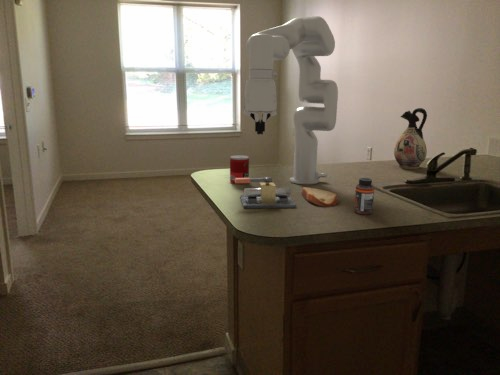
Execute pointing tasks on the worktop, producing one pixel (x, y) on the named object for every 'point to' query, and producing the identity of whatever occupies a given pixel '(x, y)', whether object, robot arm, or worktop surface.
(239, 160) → the canned food
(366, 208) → the supplement bottle
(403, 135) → the ceramic jug
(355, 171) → the worktop surface
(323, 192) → the bread slice
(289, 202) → the valve assembly
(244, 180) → the lever
